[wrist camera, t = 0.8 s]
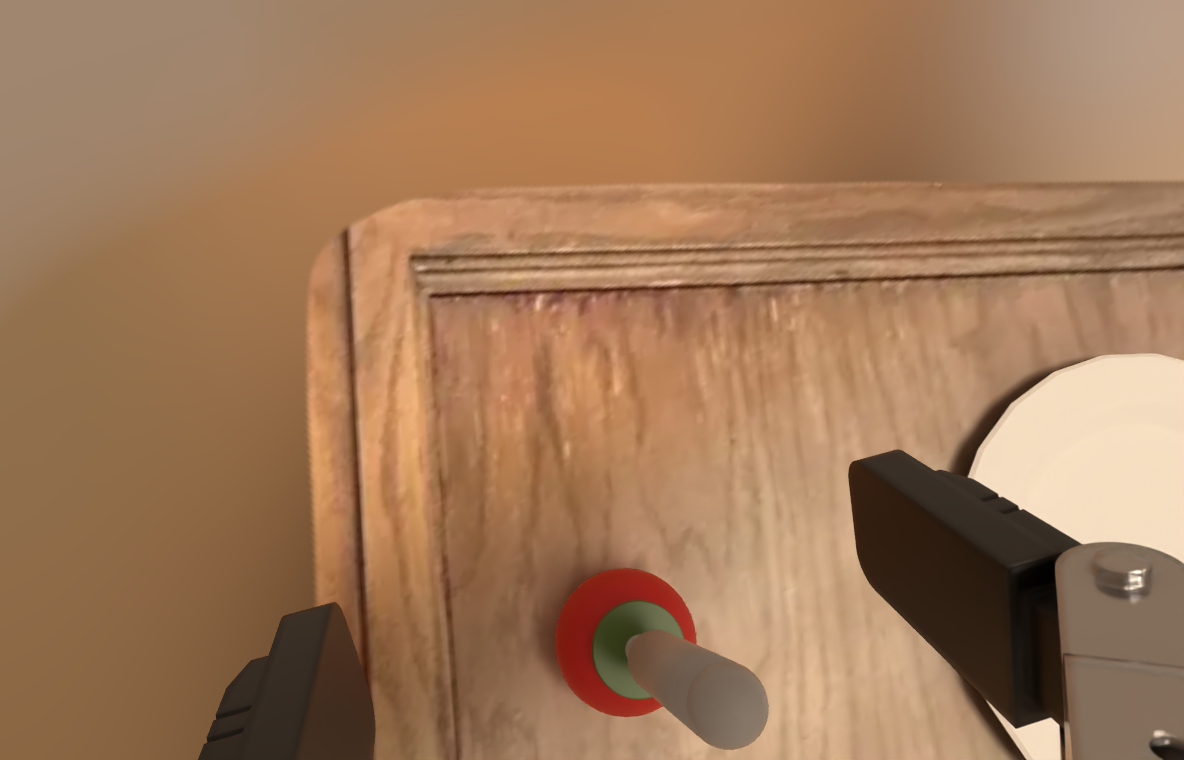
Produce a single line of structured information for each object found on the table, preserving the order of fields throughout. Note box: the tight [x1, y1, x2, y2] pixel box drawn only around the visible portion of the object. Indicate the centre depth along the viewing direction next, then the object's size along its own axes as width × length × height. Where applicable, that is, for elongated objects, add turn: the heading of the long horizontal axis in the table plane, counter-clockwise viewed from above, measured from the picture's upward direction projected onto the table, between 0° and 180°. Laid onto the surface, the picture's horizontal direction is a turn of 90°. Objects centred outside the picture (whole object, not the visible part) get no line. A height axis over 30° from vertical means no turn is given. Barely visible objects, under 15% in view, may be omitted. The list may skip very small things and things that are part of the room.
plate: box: [966, 353, 1184, 760], centre depth 35 cm, size 21×21×2 cm
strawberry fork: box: [555, 568, 769, 750], centre depth 25 cm, size 5×5×16 cm
